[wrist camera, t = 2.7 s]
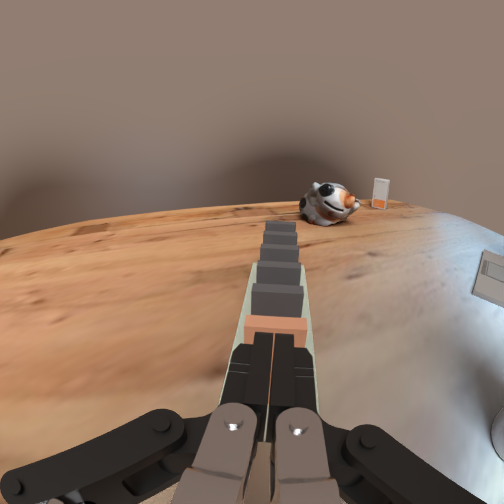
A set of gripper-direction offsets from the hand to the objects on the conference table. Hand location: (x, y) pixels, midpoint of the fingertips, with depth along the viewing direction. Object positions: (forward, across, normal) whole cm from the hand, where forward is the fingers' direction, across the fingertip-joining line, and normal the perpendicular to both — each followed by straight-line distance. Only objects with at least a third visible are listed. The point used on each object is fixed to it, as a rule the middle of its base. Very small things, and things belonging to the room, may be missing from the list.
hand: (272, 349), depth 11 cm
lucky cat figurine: (+76, -15, +16) cm, 80 cm away
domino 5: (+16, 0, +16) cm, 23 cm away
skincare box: (+103, -41, +15) cm, 112 cm away
